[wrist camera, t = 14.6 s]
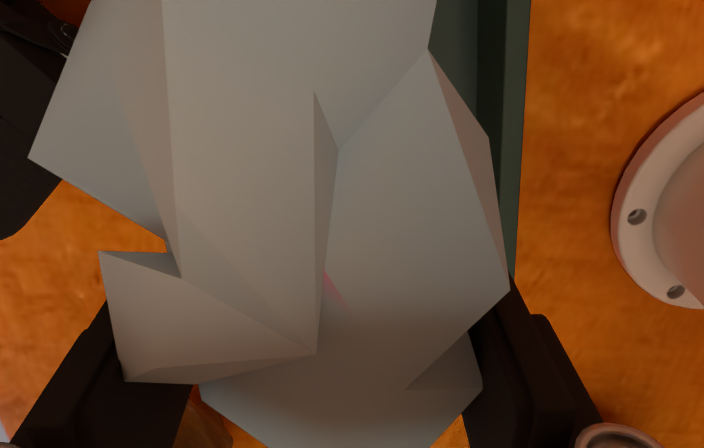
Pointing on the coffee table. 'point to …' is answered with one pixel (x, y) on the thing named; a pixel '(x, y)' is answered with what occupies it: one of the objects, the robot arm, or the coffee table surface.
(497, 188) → the caddy
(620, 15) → the coffee table surface
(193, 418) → the decorative stone
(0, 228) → the camera
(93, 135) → the faceted ice chunk
